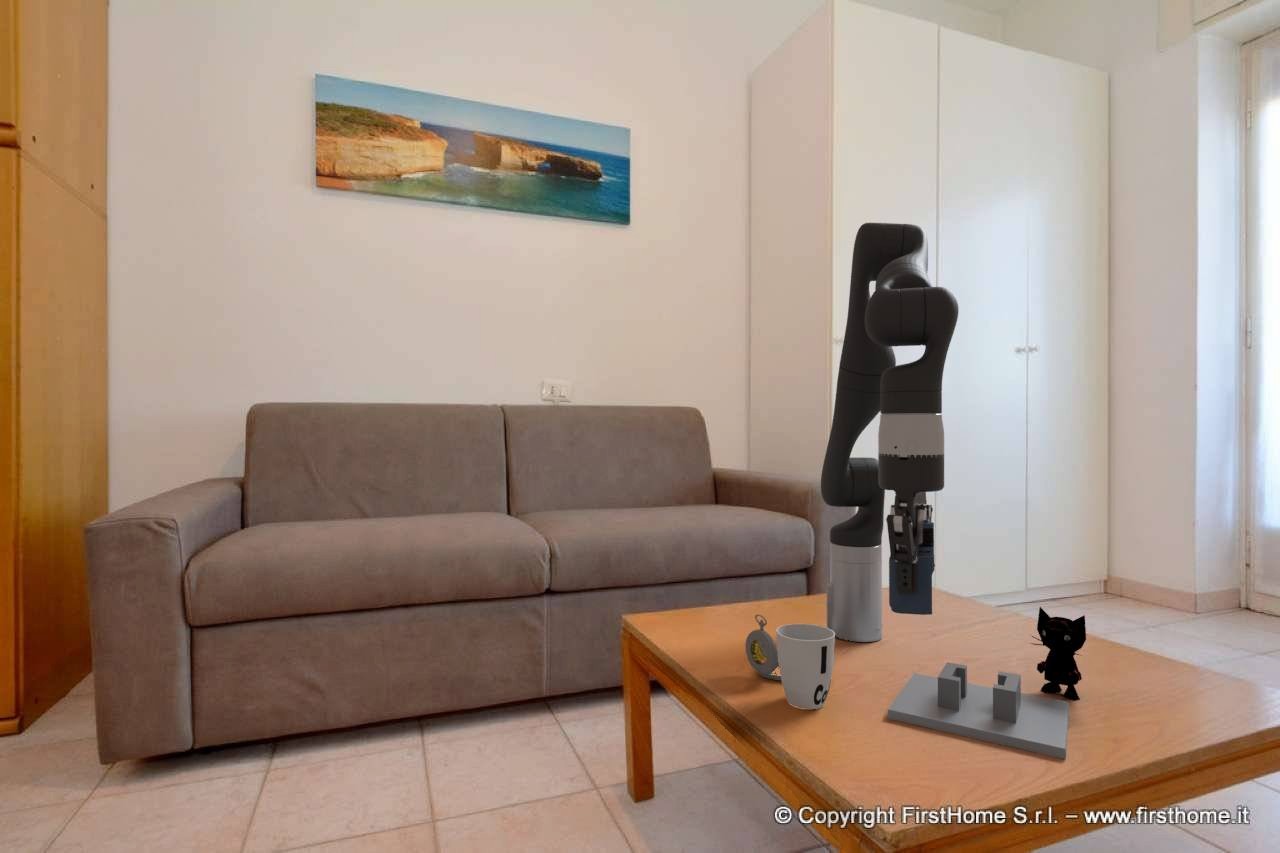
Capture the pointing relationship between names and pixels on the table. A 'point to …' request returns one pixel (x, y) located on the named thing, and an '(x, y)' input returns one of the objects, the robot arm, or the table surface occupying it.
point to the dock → (984, 710)
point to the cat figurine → (1060, 652)
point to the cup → (805, 663)
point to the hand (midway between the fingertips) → (910, 590)
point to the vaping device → (923, 597)
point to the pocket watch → (762, 651)
